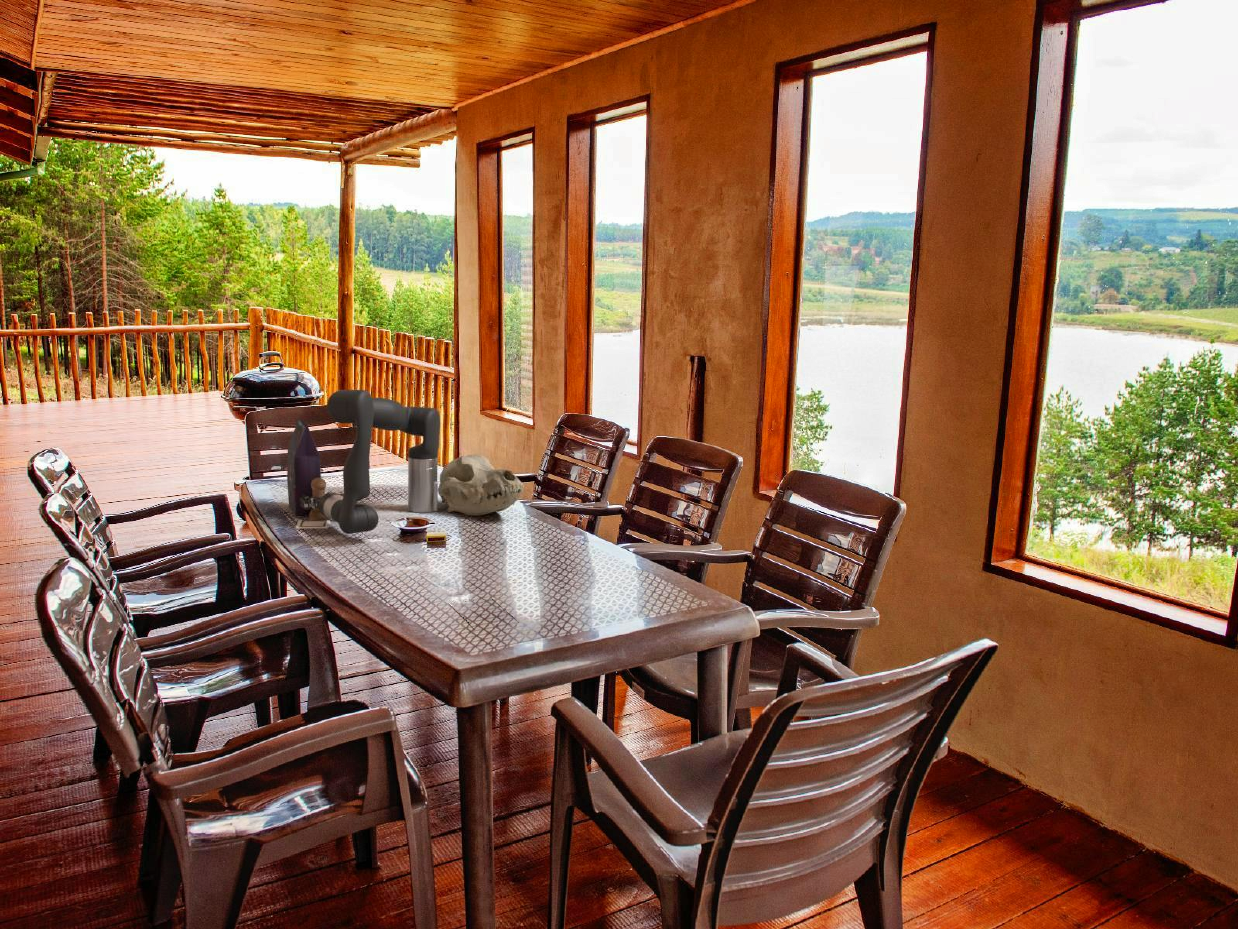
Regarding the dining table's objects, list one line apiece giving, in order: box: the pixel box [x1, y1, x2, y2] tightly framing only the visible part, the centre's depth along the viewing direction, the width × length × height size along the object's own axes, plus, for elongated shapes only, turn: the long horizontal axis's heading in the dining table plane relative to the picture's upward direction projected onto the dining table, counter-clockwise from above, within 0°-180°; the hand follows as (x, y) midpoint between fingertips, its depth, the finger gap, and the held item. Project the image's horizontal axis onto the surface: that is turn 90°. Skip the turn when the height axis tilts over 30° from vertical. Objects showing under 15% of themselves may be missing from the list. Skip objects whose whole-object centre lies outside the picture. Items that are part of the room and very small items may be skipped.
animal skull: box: [438, 453, 525, 517], centre depth 301 cm, size 22×35×22 cm, turn 51°
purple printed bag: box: [286, 419, 322, 518], centre depth 292 cm, size 8×16×28 cm, turn 27°
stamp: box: [309, 477, 329, 521], centre depth 284 cm, size 5×5×13 cm
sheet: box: [295, 519, 331, 530], centre depth 278 cm, size 9×8×1 cm
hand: (316, 496), depth 286 cm, fingers open, 7 cm apart
